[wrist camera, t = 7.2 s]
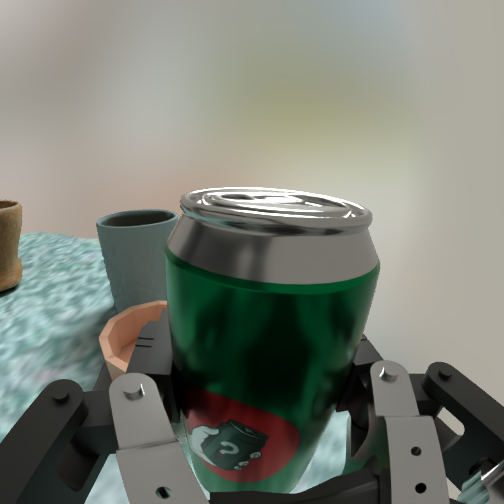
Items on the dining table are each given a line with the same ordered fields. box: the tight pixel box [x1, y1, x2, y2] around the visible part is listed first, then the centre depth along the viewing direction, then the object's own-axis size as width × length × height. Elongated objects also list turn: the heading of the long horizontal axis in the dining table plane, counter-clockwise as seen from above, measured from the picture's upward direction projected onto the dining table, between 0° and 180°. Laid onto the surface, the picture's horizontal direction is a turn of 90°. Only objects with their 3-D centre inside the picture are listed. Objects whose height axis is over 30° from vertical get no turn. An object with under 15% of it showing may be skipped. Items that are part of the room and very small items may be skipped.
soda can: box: [163, 188, 380, 494], centre depth 8 cm, size 5×5×12 cm
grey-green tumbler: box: [96, 209, 178, 313], centre depth 33 cm, size 10×10×12 cm
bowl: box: [99, 301, 167, 382], centre depth 23 cm, size 12×12×4 cm
